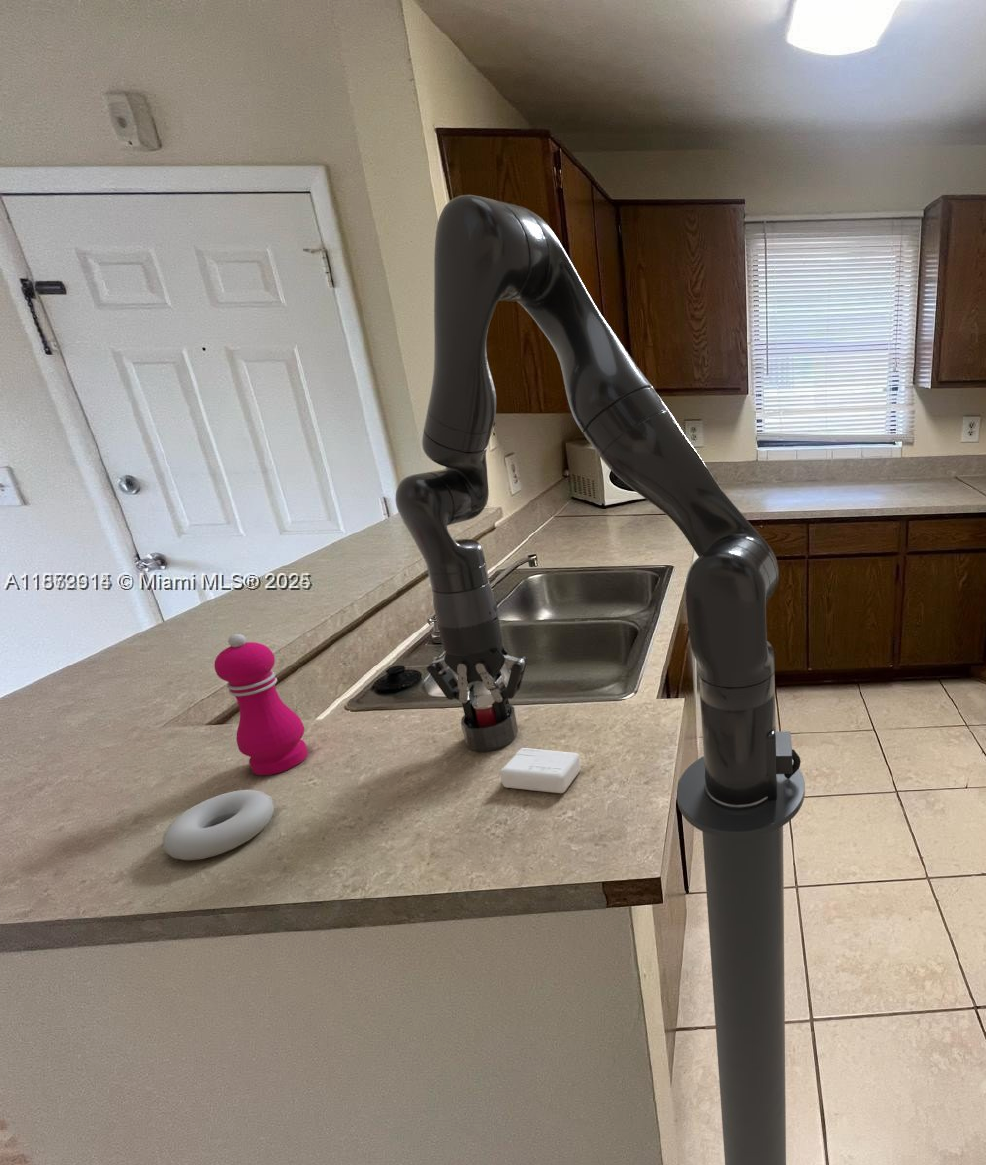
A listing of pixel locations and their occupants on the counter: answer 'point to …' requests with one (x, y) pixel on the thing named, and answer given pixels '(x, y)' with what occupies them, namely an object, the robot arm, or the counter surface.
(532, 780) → the soap
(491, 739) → the bowl
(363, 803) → the counter surface
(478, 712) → the pod
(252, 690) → the pepper mill
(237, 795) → the donut
